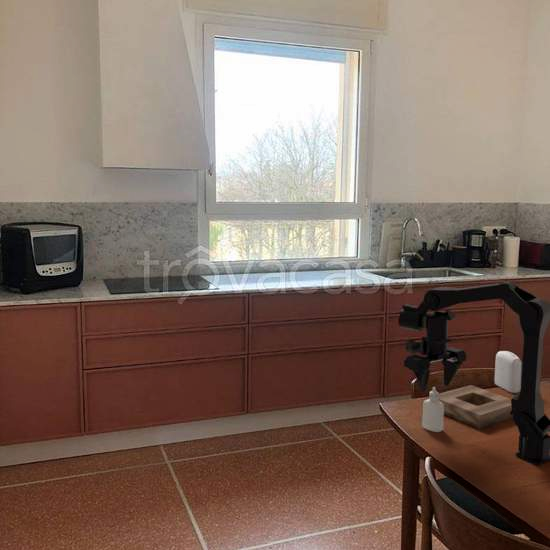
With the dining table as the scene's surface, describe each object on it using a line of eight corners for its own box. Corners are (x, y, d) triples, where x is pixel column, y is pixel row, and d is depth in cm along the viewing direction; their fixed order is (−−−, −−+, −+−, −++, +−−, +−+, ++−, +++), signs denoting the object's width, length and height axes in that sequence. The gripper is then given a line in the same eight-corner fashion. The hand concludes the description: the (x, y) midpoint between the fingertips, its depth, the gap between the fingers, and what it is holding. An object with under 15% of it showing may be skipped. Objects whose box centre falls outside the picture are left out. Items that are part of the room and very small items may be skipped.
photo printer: (492, 383, 203) (494, 348, 202) (503, 382, 204) (505, 347, 202) (510, 394, 194) (512, 357, 192) (522, 393, 194) (524, 356, 193)
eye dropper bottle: (434, 424, 170) (435, 383, 168) (445, 432, 164) (446, 390, 162) (420, 426, 168) (421, 385, 166) (430, 433, 163) (432, 391, 161)
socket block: (519, 415, 176) (520, 402, 175) (479, 428, 166) (480, 415, 166) (470, 397, 191) (470, 385, 190) (430, 408, 181) (431, 395, 181)
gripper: (437, 323, 174) (436, 375, 176) (390, 332, 164) (389, 386, 166) (468, 331, 164) (466, 385, 167) (420, 341, 155) (418, 398, 157)
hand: (434, 388), depth 164 cm, fingers open, 9 cm apart
